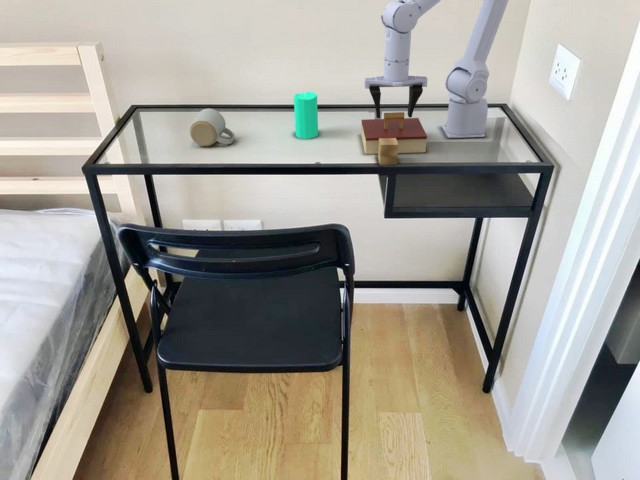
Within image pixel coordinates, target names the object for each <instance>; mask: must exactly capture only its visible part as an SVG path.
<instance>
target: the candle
mask: <svg viewBox="0 0 640 480" xmlns="http://www.w3.org/2000/svg"><path fill="white" fill-rule="evenodd" d="M293 108H294V111H293V112H294V128H295V130H294V131H295V136H296V137H297V138H299V139H303V140H304V139H305V140H306V139H313V138H317V137H318V136H319V116H318V114H319V112H318V111H319V110H318V109H319V108H318V94H317V93H316V92H313V91H304V92H302V93H295V94H294V96H293Z"/></svg>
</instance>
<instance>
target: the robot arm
mask: <svg viewBox="0 0 640 480" xmlns="http://www.w3.org/2000/svg"><path fill="white" fill-rule="evenodd" d="M509 1H510V0H482V2H481V6H480V8H479V11H478V14H477V17H476V20H475V23H474V25H473V27H472V30H471V34H470V36H469V39H468V42H467V45H466V48H465V51H464V53H463V56H462V57H460V58H458V59H457V60H456V61H454V64H453V65H452V66H453V67H452V69H451V70H450V71H449V72H448V74H447V75H446V77H445V81H444V86H445V88H446V90H447V91H448V97H449V99H448V107H447V108H448V109H447V118H446V124H445V125H441V128H442V130H443V132H444V133H445V135H446V137H447V138H448V139H458V138H459V139H462V138H463V139H464V138H484V137H486V134H485V133H486V127H487V126H486V125H487V120H488V119H487V118H488V111H489V105H488V101H487V99H486V98H484V96H485V94H486V92H487V91H488V79H489V77H490V71H489V69H488V67H487V64H486V63H487V62H486V61H487V59H488V57H489V55H490V51H491V49H492V46H493V44H494V41H495V38H496V35H497V33H498V30H499V27H500V24H501V22H502V19H503V18H504V17H503V16H504V13H505V11H506V9H507V6H508V3H509ZM440 2H441V0H398V1H397V0H395V1H390V2H389V3H388V4H387V5H386V6H385V7H384V10H383V12H382V14H381V15H380V20H381V24H382V25H383V26H384V34H385V36H384V58H383V75H381V76H373V77H364V82H363V83H364V84H363V85H364V89H366V90H367V89H368V90H369V93H370V95H371V99H372V101H373V103H374V107H375V108H374V109H375V116H376V119H381V96H382V92H381V88H404V87H406V88H407V87H408V103H407V104H408V106H407V117H408V118H413V113H414V110H415V107H416V105H417V103H418V100H419V99H420V97H421V96H422V94H423V92H424V89H423V88H427V87H428V77H427V76H426V75H425V76H424V75H423V76H419V75H409V71H410V55H411V41H412V30H414V29H415V27H416V25H417V24H418V21H419V19H420V18H421V17H423V15H425V14H426V13H427V12H429V11H430V10H431V9H433V8H434V7H435V6H436V5H437V4H439V3H440Z"/></svg>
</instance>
